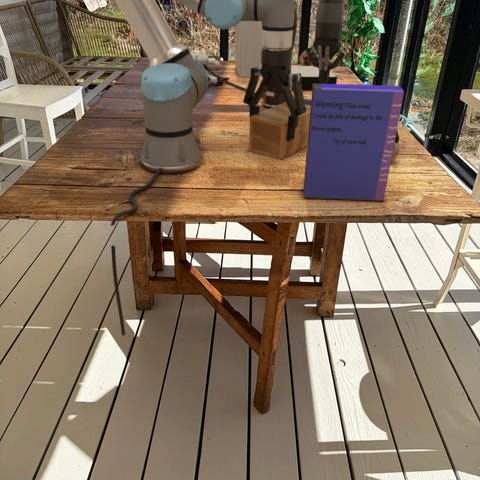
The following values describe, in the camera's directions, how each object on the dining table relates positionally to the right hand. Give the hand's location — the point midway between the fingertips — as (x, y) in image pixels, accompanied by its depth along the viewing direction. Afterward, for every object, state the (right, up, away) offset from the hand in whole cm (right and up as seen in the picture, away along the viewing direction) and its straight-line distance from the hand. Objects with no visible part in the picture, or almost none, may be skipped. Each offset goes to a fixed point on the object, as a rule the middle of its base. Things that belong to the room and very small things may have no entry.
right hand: (323, 82), depth 143 cm
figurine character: (+14, -24, -13) cm, 31 cm away
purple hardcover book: (-2, -37, -35) cm, 51 cm away
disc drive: (+4, +18, +57) cm, 60 cm away
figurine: (-45, +16, +52) cm, 70 cm away
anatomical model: (+6, +32, +80) cm, 86 cm away
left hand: (-16, -19, -14) cm, 29 cm away
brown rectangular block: (-12, -20, -8) cm, 25 cm away
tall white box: (-19, +29, +74) cm, 82 cm away
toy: (-49, +34, +81) cm, 101 cm away
